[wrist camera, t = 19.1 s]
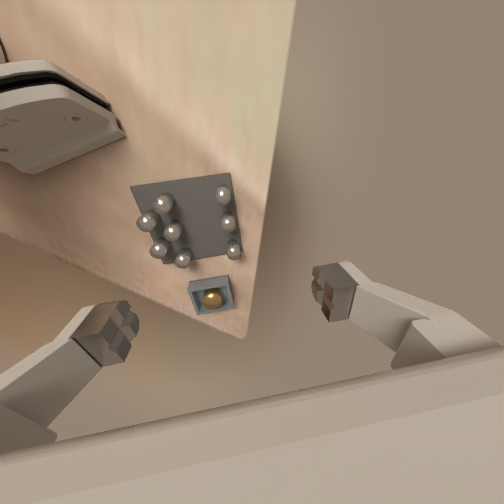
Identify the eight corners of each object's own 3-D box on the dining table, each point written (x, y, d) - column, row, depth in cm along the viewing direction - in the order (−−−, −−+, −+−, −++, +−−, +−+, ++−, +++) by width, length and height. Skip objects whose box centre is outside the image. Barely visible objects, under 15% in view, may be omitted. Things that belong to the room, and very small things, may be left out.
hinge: (32, 175, 29) (-78, 156, 19) (14, 144, 28) (-112, 107, 18) (128, 135, 28) (64, 93, 18) (113, 101, 27) (36, 38, 17)
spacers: (164, 261, 39) (159, 272, 36) (136, 196, 32) (126, 203, 29) (239, 248, 40) (241, 258, 37) (228, 183, 33) (229, 188, 30)
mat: (164, 263, 40) (163, 264, 40) (130, 186, 32) (129, 187, 31) (242, 250, 41) (242, 251, 40) (229, 172, 33) (229, 172, 32)
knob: (207, 301, 46) (206, 311, 44) (200, 289, 44) (199, 298, 42) (224, 297, 46) (224, 306, 44) (218, 284, 44) (218, 293, 42)
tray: (198, 305, 47) (197, 314, 45) (189, 281, 43) (187, 290, 41) (233, 299, 48) (234, 308, 45) (227, 274, 44) (228, 283, 41)
